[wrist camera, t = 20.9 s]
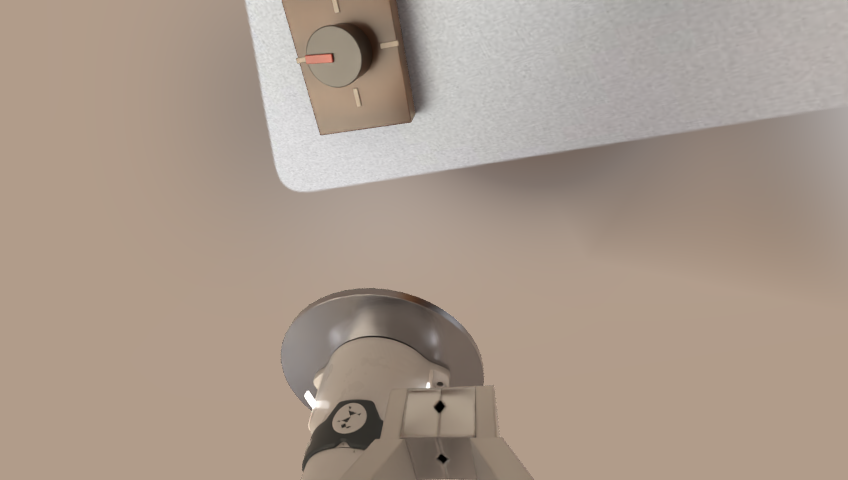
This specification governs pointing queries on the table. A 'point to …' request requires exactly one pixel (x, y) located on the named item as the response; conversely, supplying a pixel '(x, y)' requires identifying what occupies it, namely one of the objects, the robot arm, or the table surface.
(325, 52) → the knob
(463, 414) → the robot arm
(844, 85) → the table surface
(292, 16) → the walnut panel
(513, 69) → the table surface
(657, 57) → the table surface
